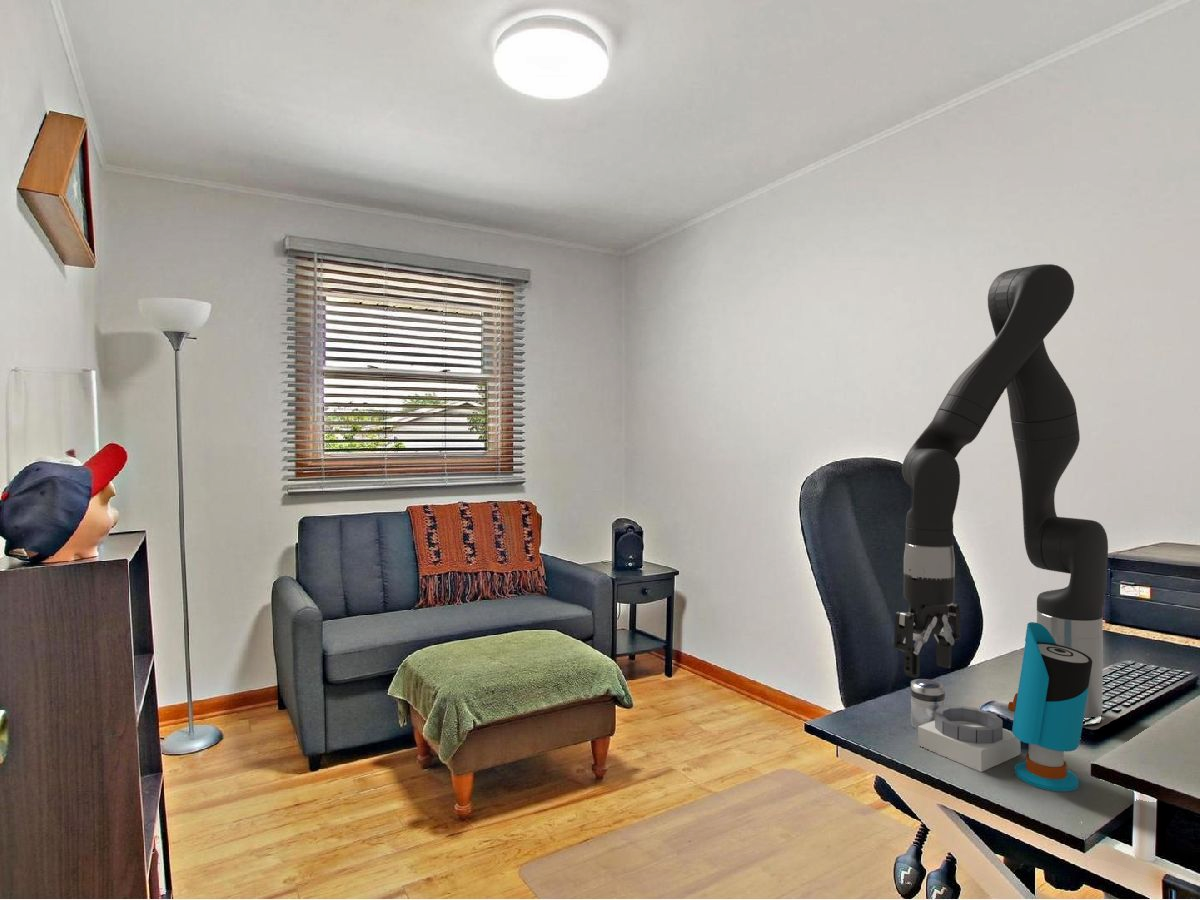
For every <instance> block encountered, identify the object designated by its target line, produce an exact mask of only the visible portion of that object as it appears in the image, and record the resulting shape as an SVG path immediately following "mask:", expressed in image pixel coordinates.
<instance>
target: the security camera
mask: <svg viewBox="0 0 1200 900" xmlns="http://www.w3.org/2000/svg"><path fill="white" fill-rule="evenodd" d="M1026 625H1027V626H1026V632H1025V638H1024V641H1025V643H1024V649H1023V655H1022V663H1021V670H1020V676H1019V683H1018V689H1017V693H1015V695H1014V697H1013V701H1009V702H1008V704H1007V710H1009V711H1011V712H1014V715H1013V722H1012V728H1011V731H1012V732H1013V734H1014V736H1015V737H1016V738H1018V739H1019V740H1020V742H1022V743H1024V744H1028V753H1027V754H1026V756H1025V761H1021V762H1018V763H1016V764H1015V766H1014V774H1015V775H1016V777H1017V778H1018V779H1020V780H1021V781H1022V782H1024V783H1026V784H1028V785H1031V786H1032V787H1036V788H1040V789H1043V790H1049V791H1053V792H1070V791H1074V790H1076V789H1078V787H1079V783H1080V782H1079V778H1078V776H1077V775H1076V774H1075V773H1074V772H1072V771H1071V770H1068V769H1067V765H1068V764H1067V762H1066V760H1065V758H1064V757H1065V753H1066V752H1072V751H1076V750H1077V749H1078V748H1079V745H1080V742H1081V737H1082V732H1083V726H1084V725H1083V720H1084V714H1085V708H1086V702H1087V696H1088V690H1089V681H1090V675H1091V668H1092V659H1091V658H1090V657H1089V656H1087V655H1086V654H1084V653H1082V652H1080V651H1077V650H1075V649H1072V648H1069V647H1066V646H1062V645H1057V644H1056V642H1055V640H1054V639H1053V637H1052V635H1051V634H1050V632H1049V631H1048V630H1047V629H1046V628H1045V627H1044V626H1043V625H1041V624H1039V623H1037V622H1036V621H1035V622H1032V621H1030V622H1028V623H1027V624H1026Z"/></svg>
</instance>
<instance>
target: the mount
mask: <svg viewBox="0 0 1200 900" xmlns="http://www.w3.org/2000/svg"><path fill="white" fill-rule="evenodd" d="M1003 726H1004V725H1003V719H1002V718H1001V717H1000V716H998V715H997V714H995V713H993V712H991V711H989V710H984V709H982V708H977V707H974V706H973V707H972V706H965V705H945V706H944V707H941V708H938V709H937V710H936V712H935V720H934V721H932V722H929V723H926V724H923V725H921V726H918V730H917V746H918V745H919V746H918V747H920V746H921V747H920V748H922V747H924V748H923V749H925V748H926V749H925V750H927V749H929V750H928V751H929V752H932V751H933V753H934V752H935V753H934V754H936V755H939V756H942V757H945V758H946V757H947V759H949V760H951V761H954V762H956V763H958V764H961V765H963V766H966V767H969V768H971V769H973V770H976V771H978V772H980V773H982V772H985V771H986V770H989V769H991V768H994V767H996V766H997V765H1000V764H1002V763H1005V762H1007V761H1009V760H1011V759H1013V758H1015V757H1018V756H1020V755H1021V741H1020V740H1019V739H1018V738H1016V737H1015V736H1014V734H1013V732H1012V730H1008V729H1007V728H1003Z"/></svg>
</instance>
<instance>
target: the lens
mask: <svg viewBox="0 0 1200 900" xmlns="http://www.w3.org/2000/svg"><path fill="white" fill-rule="evenodd" d="M945 686H946V685H944V684H943V683H942V682H939V681H937V680H933V679H926V678H915V679H913V680H911V681H910V723H911V724H910V725H912V726H911V728H913V727H914V728H915V729H914V728H913V729H914V730H916V729H917V731H918V726H921V725H923V724H926V723H929V722H932V721H934V720H935V712H936V710H937V709H938V708H941V707H944V706H946V703H945V702H946V700H945V699H946V691H945V690H946V688H945Z"/></svg>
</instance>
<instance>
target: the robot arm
mask: <svg viewBox="0 0 1200 900" xmlns="http://www.w3.org/2000/svg"><path fill="white" fill-rule="evenodd" d="M1074 296H1075V283H1074V280H1073V278H1072V276H1071V274H1070V273H1069V272H1068V270H1066V269H1065V268H1063V267H1062V266H1060V265H1057V264H1052V263H1048V264H1047V263H1046V264H1045V263H1044V264H1043V263H1042V264H1035V265H1031V266H1023V267H1019V268H1013V269H1009V270H1006V271H1003V272H1001V273H1000V274H999V275H997V276H996V277H995V278H994V280H993V281H992V282H991V285H990V286H989V289H988V293H987V307H988V308H987V309H988V314H989V317H990V321H991V326H992V328H993V332H994V336H995V339H993V341H992V342H991V343H990V344H989V345H988V346H987V347H986V349H984V351H983V352H982V353H981V354H980V355H979V356H978V357H977V358H976V359H974V361H973V362H972V363H971V364H969V366H968V367H966V368H965V369H964V371H963V372H962V373H961V374H960V375H959V376H958V378H957V379H956V380H955V381H954V383H953V384H952V386H951V387H950V389H949V390H948V391H947V394H946V395H945V397H944V398H943V400H942V402H941V404H940V405H939V406H938V409H937V410H936V412H935V415H934V417H933V418H932V420H931V422H930V423H929V424H928V426H926V428H925V429H924V430H923V431H922V433H920V435H919V436H918V438H917V439H916V441H915V442H914V443H913V445H912V446H911V447H910V449H909V450H908V452H907V453H906V455H905V457H904V459H903V461H902V466H901V475H902V477H903V479H904V482H905V483H906V484H907V485H908V486H909V487H911V488H913V490H912V500H911V501H912V504H911V508H910V509H908V511H907V513H906V517H905V543H904V544H905V545H904V553H903V591H902V592H903V593H902V594H903V595H902V596H903V598H904V599H905V600H906V601H907V602H908V603H909V607H908V612H907V611H906V612H904V611H898V610H897V611H896V612H895V618H894V639H893V648H894V650H899V651H902V653H903V671H904V675H905V676H907V677H910V678H913V679H918V678H919V677H920V674H921V673H920V672H921V671H920V670H921V669H920V668H921V667H920V665H921V664H920V663H921V662H920V660H921V659H920V658H921V655H920V651H921V649H922V646H923V644H926V643H927V642H928V640H929V638H930V637H932V636H934V638H935V640H936V642H937V643H936V646H935V647H936V653H935V656H936V658H935V659H936V660H935V663H936V666H938V667H939V668H943V669H950V668H951V667H952V650H953V649H952V646H954V645H955V642H956V640H957V641H959V640H961V638H962V634H961V633H962V632H961V631H962V630H961V627H962V626H961V605H960V604H958V603H954V602H955V594H956V593H955V591H956V590H955V587H956V584H955V583H956V582H955V581H956V580H955V579H956V577H955V576H956V574H955V573H956V568H955V567H956V559H955V557H956V556H955V552H954V515H955V511H956V506H957V503H958V497H959V491H960V484H961V472H960V467H959V463H958V461H957V460H956V458H957V456H958V455H959V453H960V452H961V450H963V448H964V447H965V446H967V445H969V444H971V443H972V442H973V441H975V439H976V438H977V437H978V436H979V434H980V432H981V430H982V429H983V427H984V426H985V423H986V422H987V420H988V419H989V417H990V415H991V414H992V412H993V409H994V408H995V407H996V405H997V403H998V401H999V400H1000V398H1001V396H1002V395H1003V393H1004V392H1005V390H1006V394H1007V399H1008V406H1009V416H1010V421H1011V422H1010V423H1011V430H1012V436H1013V441H1014V447H1015V453H1016V457H1017V465H1018V471H1019V479H1020V486H1021V487H1020V488H1021V501H1022V505H1021V506H1022V518H1023V519H1022V524H1023V525H1022V526H1023V539H1024V545H1025V551H1026V554H1027V557H1028V560H1029V561H1030V563H1031V564H1032V565H1033V566H1034V567H1035V568H1038V569H1040V570H1046V571H1051V572H1057V573H1063V574H1064V573H1065V574H1070V577H1069V583H1068V584H1067V585H1068V586H1066V587H1063V588H1059V589H1053V590H1052V589H1050V590H1046V591H1043V592H1040V593H1039V594H1038V595H1037V598H1036V623H1039V624H1041V625H1043V626H1044V627H1045V628H1046V629H1047V630H1048V631H1049V632H1050V634H1051V635H1052V637H1053V639H1054V640H1055V642H1056V644H1057V645H1062V646H1066V647H1069V648H1072V649H1075V650H1077V651H1080V652H1082V653H1084V654H1086V655H1087V656H1089V657H1090V658H1091V659H1092V668H1091V675H1090V681H1089V690H1088V696H1087V702H1086V708H1085V714H1084V718H1091V717H1098V716H1101V715H1102V716H1103V673H1104V671H1103V668H1104V667H1103V666H1104V665H1103V660H1104V659H1103V652H1104V651H1103V647H1104V646H1103V637H1104V635H1103V633H1104V632H1103V625H1104V624H1103V622H1104V621H1103V620H1104V619H1103V616H1104V615H1103V613H1104V612H1103V611H1104V610H1103V609H1104V604H1105V599H1106V592H1107V591H1106V590H1107V570H1108V559H1109V541H1108V535H1107V532H1106V530H1105V528H1104V526H1103V525H1102V524H1101V523H1100V522H1098V521H1097V520H1091V519H1083V518H1074V517H1064V516H1063V517H1062V516H1058V515H1057V511H1056V506H1055V505H1056V504H1055V495H1056V488H1057V486H1058V484H1059V481H1060V480H1061V478H1062V476H1063V474H1064V472H1065V470H1066V469H1067V468H1068V466H1069V464H1070V463H1071V461H1072V459H1073V458H1074V456H1075V454H1076V452H1077V450H1078V448H1079V443H1080V438H1081V437H1080V436H1081V435H1080V427H1079V420H1078V414H1077V406H1076V401H1075V399H1074V396H1073V393H1071V391H1070V389H1069V387H1068V384H1067V383H1066V381H1065V380H1064V378H1063V377H1062V375H1061V374H1060V373H1059V371H1058V370H1057V368H1056V366H1055V365H1054V363H1053V361H1052V360H1051V359H1050V356H1049V354H1048V352H1047V349H1046V344H1045V342H1044V341H1045V340H1044V339H1046V337H1047V336H1048V335H1049V333H1051V331H1052V330H1053V329H1054V327H1055V326H1057V324H1058V322H1059V321H1060V320H1061V319H1062V318H1063V317H1064V315H1065V313H1066V312H1067V311H1068V309H1069V308H1070V306H1071V305H1072V302H1073V299H1074ZM951 625H952V626H953V630H952V627H951ZM903 636H904V638H903ZM902 638H903V641H902ZM913 641H915V642H913Z"/></svg>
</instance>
